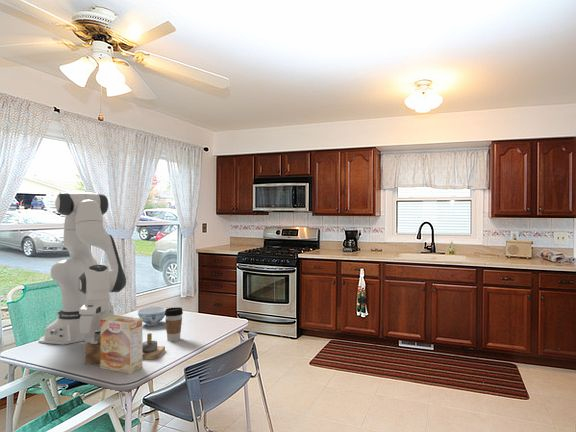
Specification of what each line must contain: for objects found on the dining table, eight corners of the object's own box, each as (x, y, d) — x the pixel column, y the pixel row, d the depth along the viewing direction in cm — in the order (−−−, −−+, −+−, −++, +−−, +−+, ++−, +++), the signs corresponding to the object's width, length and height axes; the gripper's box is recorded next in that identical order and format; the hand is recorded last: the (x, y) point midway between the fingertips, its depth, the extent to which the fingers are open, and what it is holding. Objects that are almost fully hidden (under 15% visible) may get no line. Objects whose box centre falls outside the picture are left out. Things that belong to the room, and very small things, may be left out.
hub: (132, 358, 159) (132, 337, 159) (142, 350, 169) (142, 330, 169) (156, 359, 159) (156, 337, 159) (164, 350, 169) (165, 330, 169)
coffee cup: (177, 343, 179) (177, 311, 179) (161, 341, 180) (161, 310, 180) (185, 337, 187) (185, 306, 187) (170, 336, 189) (170, 305, 189)
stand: (85, 364, 153) (85, 338, 153) (94, 358, 160) (94, 333, 160) (102, 364, 153) (102, 338, 153) (110, 358, 160) (110, 333, 160)
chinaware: (155, 318, 220) (155, 305, 220) (172, 323, 211) (172, 309, 211) (132, 324, 207) (132, 310, 207) (148, 329, 199) (148, 315, 199)
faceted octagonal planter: (86, 343, 153) (86, 334, 153) (94, 338, 159) (94, 330, 159) (101, 344, 153) (101, 335, 153) (109, 338, 159) (109, 330, 159)
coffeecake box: (99, 368, 149) (99, 318, 149) (113, 362, 156) (113, 314, 156) (129, 374, 144) (129, 322, 144) (143, 367, 150) (143, 318, 150)
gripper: (103, 299, 167) (103, 330, 167) (76, 311, 146) (76, 347, 146) (117, 299, 166) (117, 331, 167) (92, 311, 146) (92, 347, 146)
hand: (97, 339), depth 156 cm, fingers closed on faceted octagonal planter, 6 cm apart
